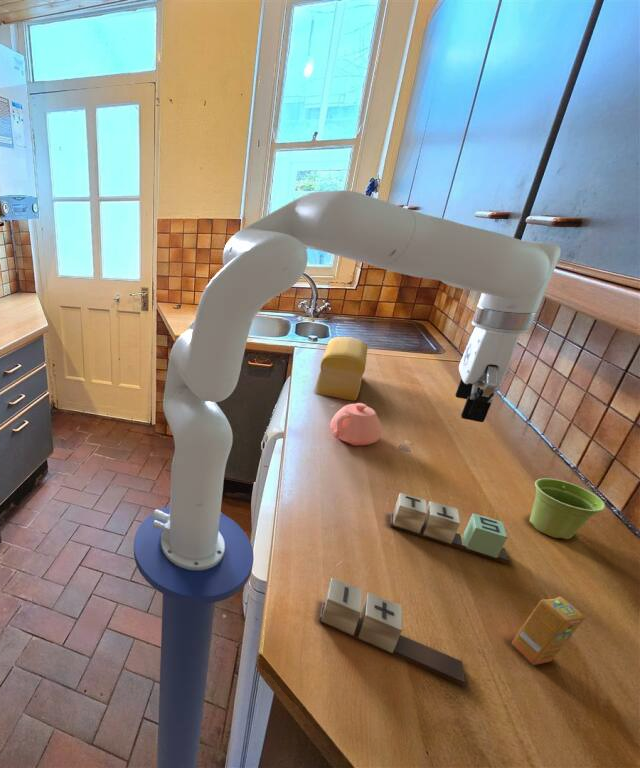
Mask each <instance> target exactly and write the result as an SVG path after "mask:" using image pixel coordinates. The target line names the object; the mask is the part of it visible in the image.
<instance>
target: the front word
mask: <svg viewBox="0 0 640 768" xmlns="http://www.w3.org/2000/svg"><path fill="white" fill-rule="evenodd" d="M363 596H364V590H363V589H361V588H359V587H356V586H353V585H351V584H348V583H347V582H344V581H342V580H339V579H337V578H333V577H331V578H330V581H329V585H328V589H327V593H326V597H325V600H324V601H323V602H322V604H321V609H320V613H319V617H318V622H320V623H321V624H324V625H325V626H328V627H330V628H333V629H334V630H337V631H339V632H342V633H343V634H346V635H348V636H350V637H352V638H354V639H357V640H359V641H361V642H364V643H366V644H368V645H370V646H372V647H374V648H377V649H379V650H381V651H383V652H386V653H388V654H389V655H392V656H394V657H396V658H399V659H401V660H403V661H405V662H407V663H409V664H411V665H414V666H417V667H418V668H420V669H423V670H425V671H427V672H429V673H432V674H434V675H436V676H438V677H440V678H443V679H445V680H447V681H449V682H451V683H453V684H455V685H458V686H459V687H463V686H464V684H465V681H466V680H465V674H464V665H463V661H462V660H460V659H458V658H456V657H452V656H451V655H448V654H447V653H443V652H441V651H439V650H436V649H434V648H431V647H430V646H428V645H425V644H423V643H421V642H418V641H415V640H414V639H411V638H409V637H406V636H404V635H401V634H402V631H403V606H402V605H401V604H399V603H396V602H393V601H391V600H388V599H386V598H384V597H381V596H379V595H376V594H374V593H371V592H369V591H368V592H367V593H366V596H365V600H364V601H363Z"/></svg>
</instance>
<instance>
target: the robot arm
mask: <svg viewBox="0 0 640 768" xmlns="http://www.w3.org/2000/svg"><path fill="white" fill-rule="evenodd" d="M308 249H310V250H314V251H315V250H316V251H320V252H324V253H327V254H330V255H335V256H338V257H340V258H345V259H349V260H352V261H355V262H358V263H362V264H366V265H369V266H373V267H376V268H379V269H382V270H386V271H389V272H393V273H398V274H401V275H405V276H410V277H415V278H420V279H427V280H428V279H429V280H434V281H440V282H441V283H443V284H445V285H447V286H450V287H452V288H457V289H461V290H465V291H470V292H475V293H480V297H479V300H478V303H477V306H476V309H475V311H474V315H473V318H472V320H471V323H470V324H471V326H474V329H473V331H472V333H471V335H470V337H469V340H468V342H467V345H466V347H465V350H464V352H463V355H462V357H461V360H460V362H459V365H458V372H459V374H460V377H461V378H460V380H459V383H458V386H457V389H456V392H455V395H454V396H455V397H456V398H458V399H463V400H466V401H465V403H464V406H463V408H462V411H461V414H460V418H461V419H463V420H468V421H473V422H476V423H477V422H478V423H484V422H485V420H486V418H487V415H488V413H489V410H490V408H491V406H492V402H493V400H494V397H495V396H494V395H495V390H496V389H498V388H500V387H501V386H502V383H503V381H504V379H505V377H506V374H507V372H508V369H509V367H510V365H511V361H512V359H513V356H514V353H515V350H516V347H517V345H518V342H519V338H520V334H528V333H529V332H530V330H531V328H532V325H533V323H534V320H535V317H536V315H537V313H538V310H539V309H540V305H541V303H542V300H543V299H544V296H545V294H546V291H547V289H548V286H549V284H550V281H551V279H552V276H553V274H554V272H555V269H556V267H557V265H558V262H559V260H560V257H561V253H562V249H561V247H560V245H559V244H557V243H554V242H550V241H549V242H548V241H541V240H540V241H539V240H537V241H536V240H522V239H519V238H517V237H513V236H510V235H506V234H503V233H500V232H496V231H492V230H488V229H484V228H479V227H475V226H471V225H467V224H463V223H459V222H456V221H453V220H449V219H445V218H441V217H437V216H432V215H428V214H426V213H422V212H419V211H416V210H412V209H409V208H406V207H403V206H400V205H397V204H394V203H391V202H388V201H386V200H382V199H380V198H377V197H373V196H370V195H369V194H368V195H367V194H364V193H361V192H357V191H353V190H322V191H320V190H319V191H313V192H310V193H306V194H304V195H302V196H300V197H298V198H296V199H294V200H291V201H290V202H288V203H287V204H284V205H283V206H281V207H279V208H277V209H276V210H274V211H272V212H270V213H269V214H267V215H265V216H263V217H261V218H259V219H258V220H256V221H253V222H252V223H251V224H249V225H247V226H245V227H243V228H242V229H239V230H238V231H237V232H236V233H234V234H233V235H232V236H231V237H230V238H229V240H228V241H227V242H226V244H225V246H224V249H223V251H222V265H223V267H222V268H221V269H220V270H219V271H218V272H217V273H216V274H215V275H214V276H213V277H212V279H210V281H209V282H208V284H207V285H206V286H205V288H204V290H203V292H202V294H201V296H200V299H199V302H198V306H197V307H196V313H195V318H194V322H193V327H192V328H191V329H188V330H186V331H185V332H183V333H182V334H180V336H178V337H177V338H176V340H175V342H174V343H173V345H172V347H171V351H170V354H169V359H168V364H167V365H168V366H167V370H166V371H167V372H166V378H165V385H164V390H163V391H164V393H163V399H162V400H163V402H162V407H163V413H164V417H165V419H166V421H167V424H168V426H169V429H170V432H171V434H172V437H173V441H174V454H173V458H172V461H171V470H170V473H171V474H170V499H169V506H170V514H169V515H168V514H165V513H164V512H162V511H160V509H156V508H155V510H154V511H153V512H152V513H153V518H154V519H157V520H159V521H163V522H165V524H163V523H161V522H159V521H157V520H155V521H154V522H153V527H156V528H158V529H161V530H163V533H162V536H161V547H162V550H163V552H164V554H165V556H166V557H167V558H168V559H169V560H170V561H171V562H172V563H174V564H175V565H177V566H179V567H181V568H185V569H188V570H205V569H209V568H212V567H214V566H215V565H217V564H218V563H219V562H220V561H221V559H222V558H223V556H224V552H225V542H224V539H223V537H222V535H221V534H220V532H219V522H220V513H222V511H221V510H222V501H223V492H224V483H225V482H224V480H225V475H226V474H225V473H226V467H227V462H228V459H229V456H230V453H231V451H232V446H233V441H234V440H233V439H234V437H233V430H232V427H231V424H230V422H229V419H228V418H227V417H226V414H225V413H224V412H223V410H222V409H221V408H220V406H219V405H218V403H219V402H223V401H225V400H226V399H228V398H229V397H230V396H231V395H232V394H233V393H234V391H235V389H236V387H237V385H238V382H239V379H240V374H241V369H242V365H243V360H244V356H245V351H246V347H247V341H248V337H249V334H250V330H251V327H252V325H253V322H254V319H255V318H256V315H257V314H258V313H259V311H261V309H262V308H263V307H264V306H265V305H266V304H267V303H269V302H270V301H271V300H273V299H274V298H276V297H277V296H279V295H280V294H283V293H285V292H286V291H288V290H289V289H291V288H292V287H294V286H295V285H296V284H297V283H298V282H299V281H300V280H301V278H302V276H303V275H304V273H305V271H306V268H307V267H308V266H307V265H308V258H309V257H308V251H307V250H308Z"/></svg>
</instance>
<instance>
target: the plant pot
mask: <svg viewBox="0 0 640 768" xmlns="http://www.w3.org/2000/svg"><path fill="white" fill-rule="evenodd" d="M534 487H535V498H534V501H533V505H532V509H531V512H530V515H529V516H530V517H529V523H530V524H532V526H533V527H534V528H535V529H536V530H537V531H539V532H540V533H543V534H544V535H547V536H550V537H552V538H555V539H563V540H570V539H571V538H573V536H574V535H575V534H576V533H577V532H578V531H580V529H581V528H582V527H583V526H584V525H585V524H586V523H587V522H588V521H589V519H590V518H591V517H592V516H595V515H596V514H597V513H599V512H603V511H604V510H605V509H606V503H605V501H604V500H602V498H600V497H599V496H598V495H596V494H595V493H593V492H591V491H590V490H588V489H586V488H584V487H582V486H579V485H576V484H574V483H572V482H568V481H565V480H561V479H557V478H548V477H547V478H545V477H544V478H539V479H537V480H535V482H534Z"/></svg>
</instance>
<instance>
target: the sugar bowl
mask: <svg viewBox="0 0 640 768" xmlns="http://www.w3.org/2000/svg"><path fill="white" fill-rule="evenodd" d="M381 424H382V423H381V422H380V419H379V417H378V415H377V412H376V411H375V410H374V409H373V408H372V407H369V406H367V405H366V404H365V403H362V402H355V403H349V404H346V405H344V406H343V407H342V408H340V409H339V410H338V411H336V413H335V414H334V415H333V417H332V418H331V420H330V424H329V428H330V430H331V432H332V436H333V437H334V438H338V439H340V440H341V441H343V442H345V443H348V444H350V445H351V446H354V447H357V446H368V445H372V444H374V443H376V442H377V441H379V440H380V438H381V436H382V425H381Z"/></svg>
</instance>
